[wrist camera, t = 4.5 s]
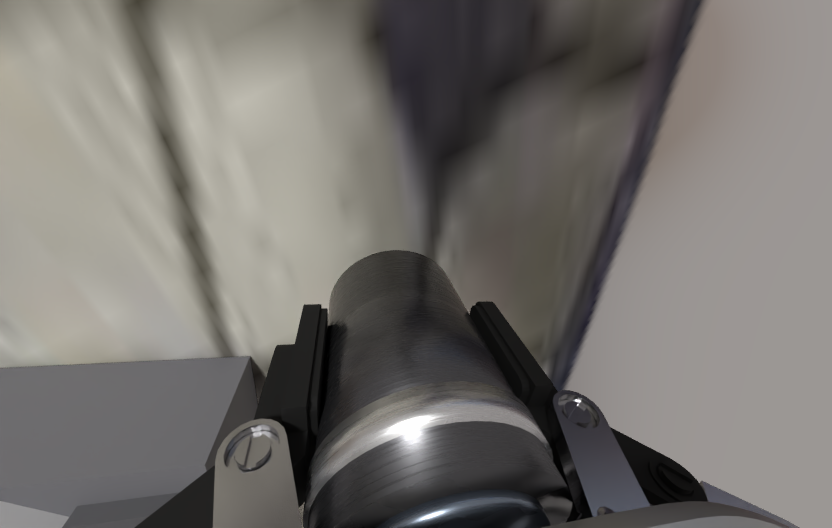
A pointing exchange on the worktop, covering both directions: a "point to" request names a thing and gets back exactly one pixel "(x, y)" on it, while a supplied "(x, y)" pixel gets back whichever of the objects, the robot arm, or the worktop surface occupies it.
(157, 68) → the worktop surface
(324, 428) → the lens
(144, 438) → the camera body
